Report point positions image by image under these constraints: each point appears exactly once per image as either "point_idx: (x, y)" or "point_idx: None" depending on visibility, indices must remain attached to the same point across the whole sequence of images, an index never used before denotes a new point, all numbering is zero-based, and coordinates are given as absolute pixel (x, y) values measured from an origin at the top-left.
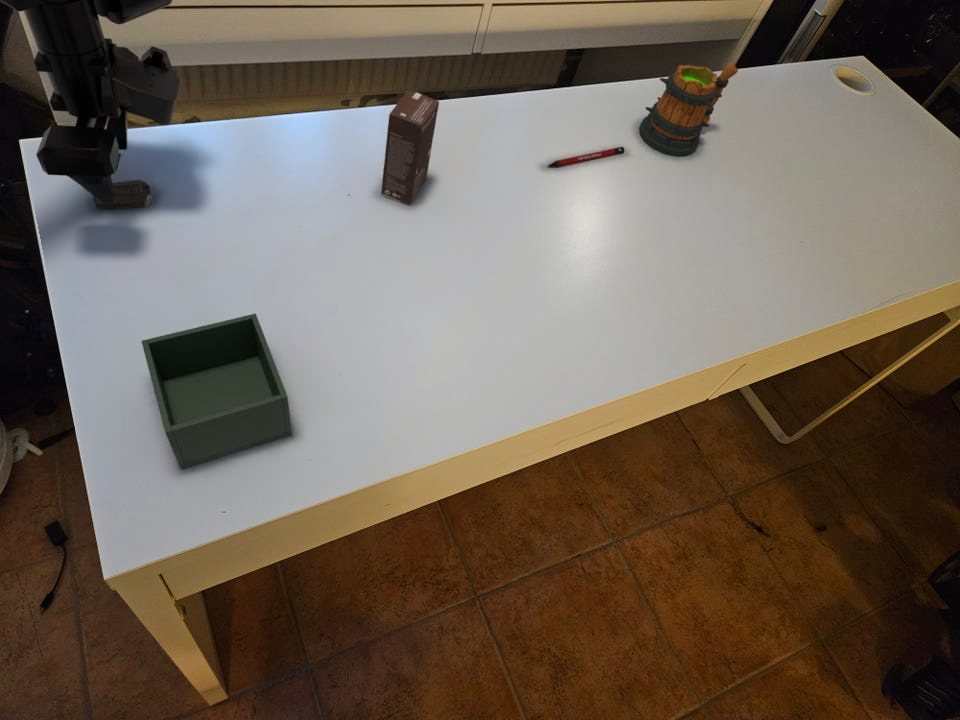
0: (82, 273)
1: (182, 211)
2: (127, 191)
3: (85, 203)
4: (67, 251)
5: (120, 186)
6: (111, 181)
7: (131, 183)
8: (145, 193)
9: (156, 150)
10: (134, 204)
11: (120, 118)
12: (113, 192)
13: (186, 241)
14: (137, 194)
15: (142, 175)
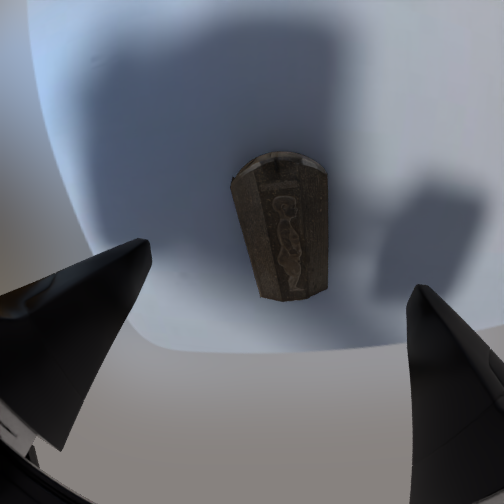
0: (488, 297)
1: (352, 68)
2: (295, 222)
3: None
4: None
5: (274, 240)
6: (464, 342)
7: (256, 210)
8: (301, 171)
9: (95, 153)
10: (327, 199)
11: (67, 308)
12: (297, 256)
13: (473, 82)
14: (304, 194)
15: (185, 177)
